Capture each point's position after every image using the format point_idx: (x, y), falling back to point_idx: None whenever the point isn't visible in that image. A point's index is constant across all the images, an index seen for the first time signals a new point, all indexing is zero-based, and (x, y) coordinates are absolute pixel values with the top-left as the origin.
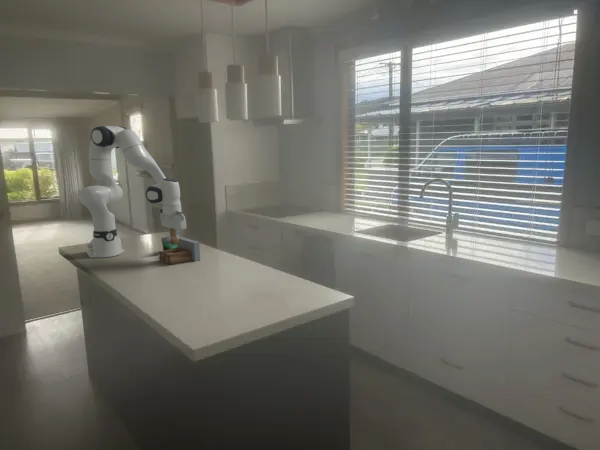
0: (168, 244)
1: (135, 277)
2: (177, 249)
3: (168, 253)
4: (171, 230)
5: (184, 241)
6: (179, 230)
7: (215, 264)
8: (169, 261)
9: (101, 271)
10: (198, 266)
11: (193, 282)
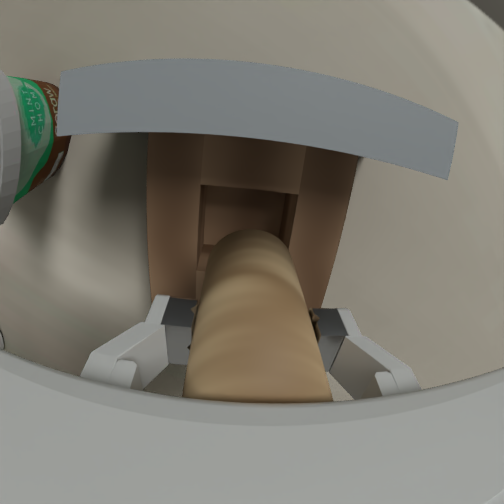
0: (29, 166)
1: None
2: (201, 184)
3: None
4: None
5: (246, 136)
6: (406, 382)
7: (477, 140)
8: None
9: None
10: (439, 209)
11: (489, 327)
